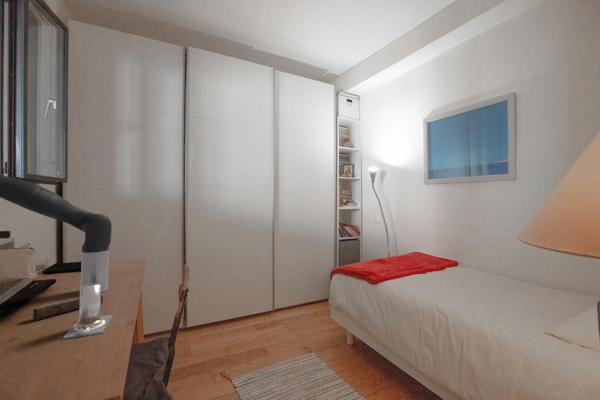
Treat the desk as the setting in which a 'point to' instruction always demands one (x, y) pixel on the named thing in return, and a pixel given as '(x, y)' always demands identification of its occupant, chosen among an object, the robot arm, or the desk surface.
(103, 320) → the board
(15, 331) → the desk surface
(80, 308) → the clear glass cylinder
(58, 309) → the hand tool
